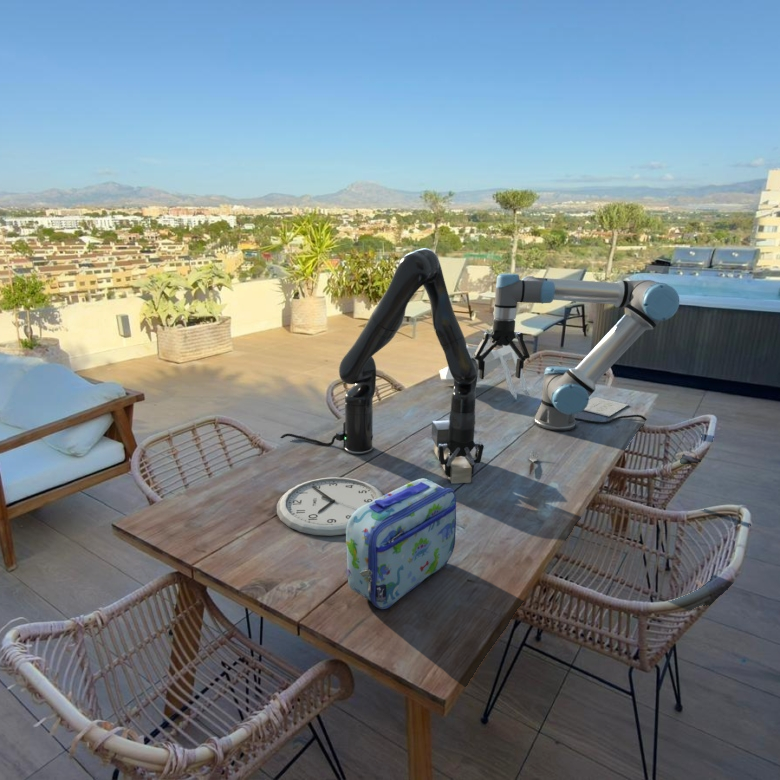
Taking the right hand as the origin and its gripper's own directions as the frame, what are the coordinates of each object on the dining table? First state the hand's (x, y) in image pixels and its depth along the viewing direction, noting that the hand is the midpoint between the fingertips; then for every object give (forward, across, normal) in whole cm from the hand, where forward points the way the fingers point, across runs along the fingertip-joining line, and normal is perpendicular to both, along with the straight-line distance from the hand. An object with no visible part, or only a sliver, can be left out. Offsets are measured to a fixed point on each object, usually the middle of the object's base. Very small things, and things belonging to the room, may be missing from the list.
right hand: (499, 377), depth 188 cm
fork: (+22, -3, +28) cm, 35 cm away
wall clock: (+22, +62, +46) cm, 80 cm away
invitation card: (+22, -57, -25) cm, 66 cm away
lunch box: (+22, +48, +79) cm, 95 cm away
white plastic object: (+22, -10, -50) cm, 55 cm away
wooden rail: (+22, +23, +25) cm, 40 cm away
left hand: (+21, +23, +34) cm, 46 cm away
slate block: (+17, +23, +17) cm, 33 cm away
